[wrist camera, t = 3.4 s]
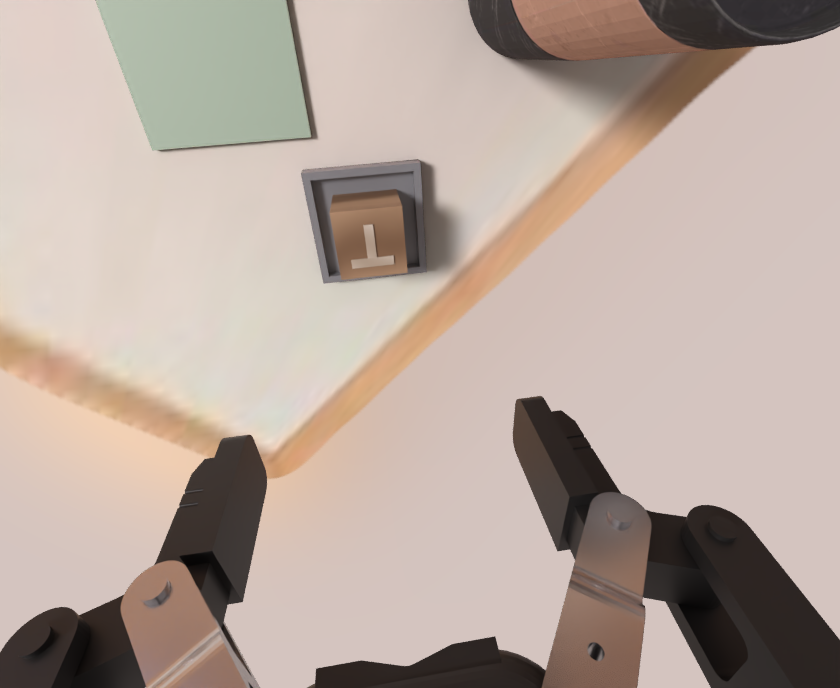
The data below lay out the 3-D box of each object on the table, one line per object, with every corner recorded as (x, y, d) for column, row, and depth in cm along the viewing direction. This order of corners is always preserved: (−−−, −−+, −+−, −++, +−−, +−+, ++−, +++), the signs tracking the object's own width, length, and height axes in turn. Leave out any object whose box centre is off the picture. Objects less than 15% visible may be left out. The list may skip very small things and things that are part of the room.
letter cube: (332, 195, 29) (329, 213, 26) (396, 189, 30) (402, 206, 26) (343, 256, 32) (341, 282, 28) (401, 250, 32) (407, 274, 28)
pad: (74, -64, 21) (70, -66, 21) (273, -73, 22) (271, -75, 22) (154, 149, 27) (152, 150, 27) (311, 136, 28) (311, 137, 27)
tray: (302, 169, 29) (300, 173, 28) (418, 159, 29) (420, 162, 28) (324, 277, 33) (323, 283, 32) (424, 266, 34) (426, 272, 33)
